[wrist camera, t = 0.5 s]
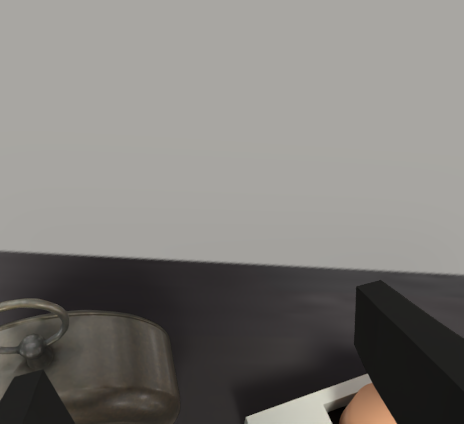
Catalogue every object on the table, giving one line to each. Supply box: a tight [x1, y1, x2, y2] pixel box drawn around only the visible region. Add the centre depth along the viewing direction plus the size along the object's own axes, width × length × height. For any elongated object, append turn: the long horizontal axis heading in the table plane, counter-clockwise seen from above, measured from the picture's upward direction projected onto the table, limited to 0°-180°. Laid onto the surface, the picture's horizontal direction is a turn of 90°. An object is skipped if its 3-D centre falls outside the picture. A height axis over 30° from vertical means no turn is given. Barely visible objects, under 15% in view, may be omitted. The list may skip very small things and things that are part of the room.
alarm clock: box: [0, 298, 180, 424], centre depth 20 cm, size 11×5×16 cm, turn 105°
